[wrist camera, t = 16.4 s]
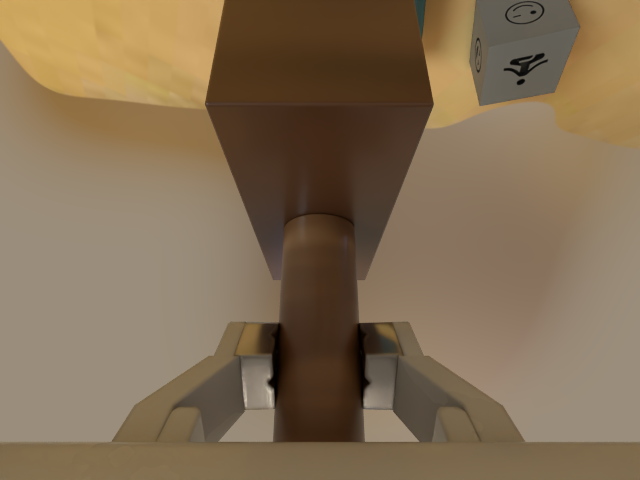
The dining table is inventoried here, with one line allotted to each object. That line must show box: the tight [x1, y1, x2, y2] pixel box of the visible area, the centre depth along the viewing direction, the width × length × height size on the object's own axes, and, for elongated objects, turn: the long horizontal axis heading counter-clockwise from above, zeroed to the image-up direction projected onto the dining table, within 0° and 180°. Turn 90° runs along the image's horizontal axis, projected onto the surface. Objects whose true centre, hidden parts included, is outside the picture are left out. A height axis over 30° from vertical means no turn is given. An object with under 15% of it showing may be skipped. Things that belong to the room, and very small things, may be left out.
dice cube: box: [470, 0, 580, 106], centre depth 24 cm, size 5×5×5 cm
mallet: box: [205, 0, 434, 442], centre depth 11 cm, size 11×4×12 cm, turn 0°
